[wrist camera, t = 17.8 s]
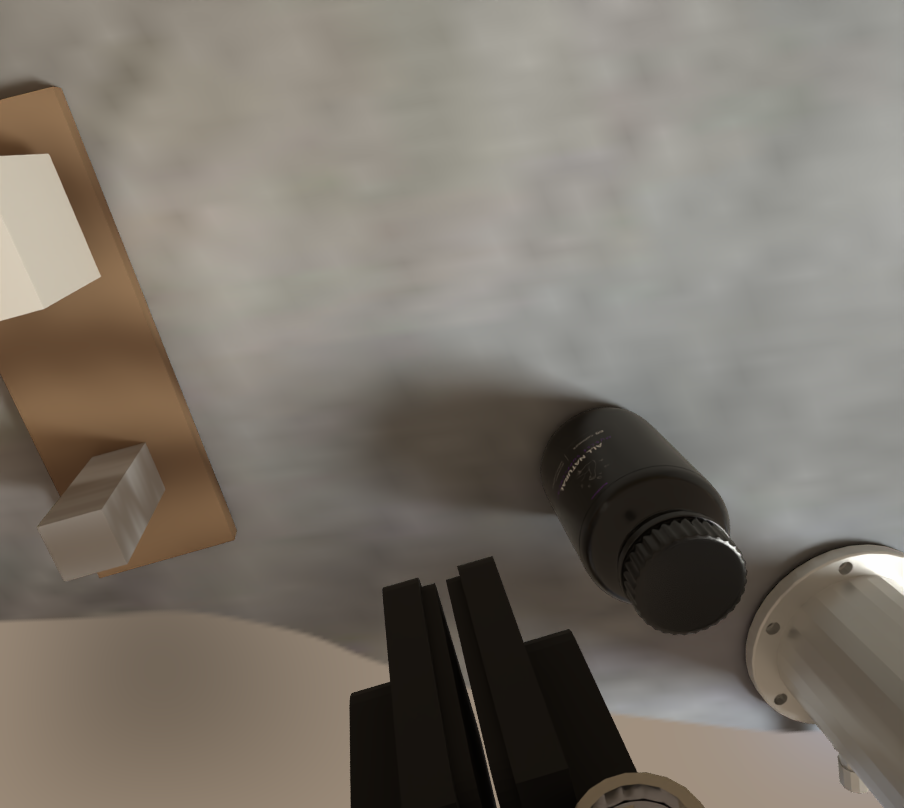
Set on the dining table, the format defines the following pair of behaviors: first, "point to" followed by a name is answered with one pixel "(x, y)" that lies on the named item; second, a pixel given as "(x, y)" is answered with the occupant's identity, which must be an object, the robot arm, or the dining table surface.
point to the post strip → (103, 389)
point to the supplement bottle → (643, 520)
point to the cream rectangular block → (38, 238)
